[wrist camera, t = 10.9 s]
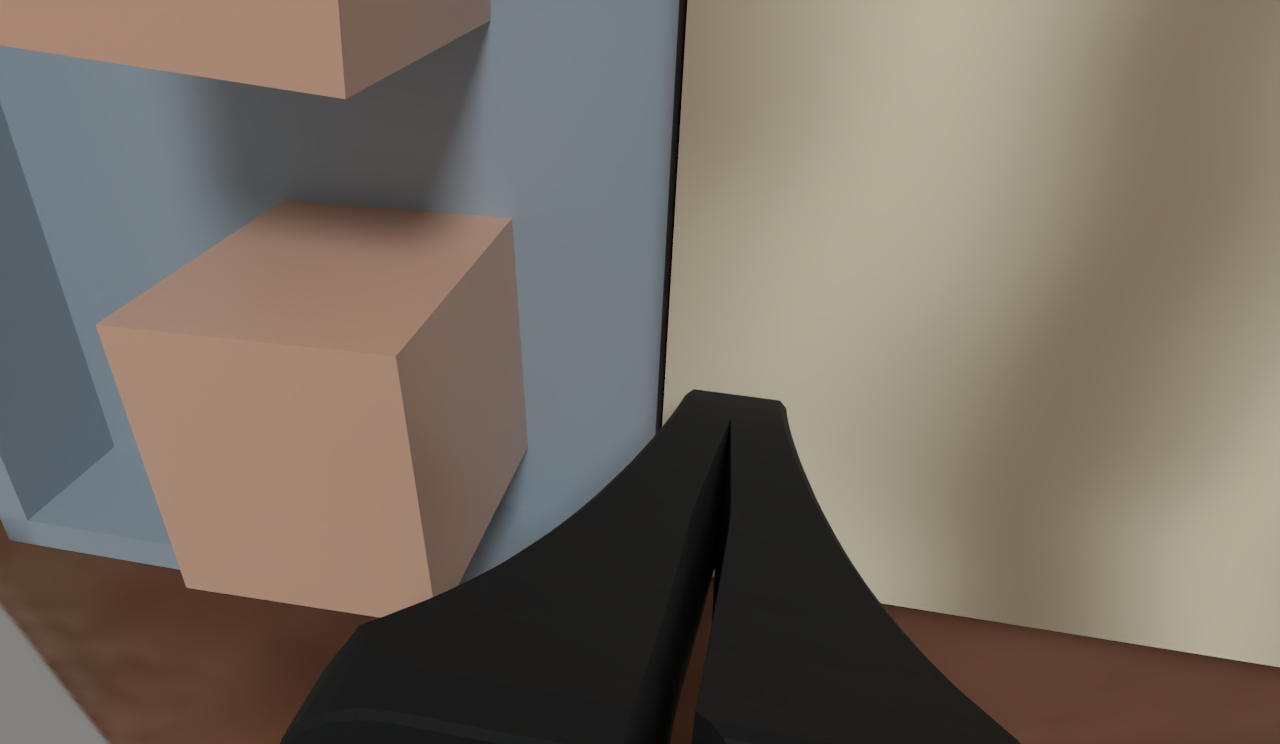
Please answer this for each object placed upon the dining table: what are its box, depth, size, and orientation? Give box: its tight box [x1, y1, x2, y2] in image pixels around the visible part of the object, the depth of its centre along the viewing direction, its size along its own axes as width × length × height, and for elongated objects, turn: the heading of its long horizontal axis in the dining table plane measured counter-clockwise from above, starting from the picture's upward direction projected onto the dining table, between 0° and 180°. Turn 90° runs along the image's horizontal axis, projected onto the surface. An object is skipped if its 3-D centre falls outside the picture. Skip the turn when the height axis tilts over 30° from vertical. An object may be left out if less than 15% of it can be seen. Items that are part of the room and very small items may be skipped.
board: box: [662, 0, 1280, 667], centre depth 12 cm, size 13×14×2 cm
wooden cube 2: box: [96, 200, 528, 618], centre depth 14 cm, size 4×4×4 cm
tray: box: [0, 0, 685, 585], centre depth 13 cm, size 12×16×3 cm
